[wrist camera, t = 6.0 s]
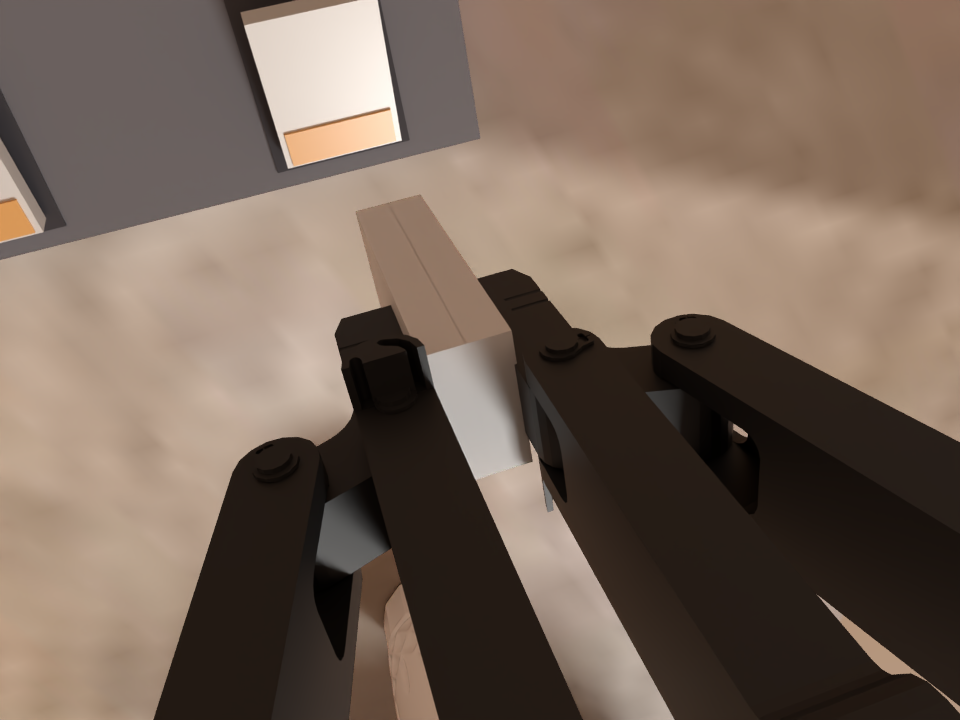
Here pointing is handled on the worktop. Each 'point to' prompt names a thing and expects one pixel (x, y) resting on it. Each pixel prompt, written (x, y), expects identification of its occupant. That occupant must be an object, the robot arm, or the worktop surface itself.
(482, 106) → the worktop surface
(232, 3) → the rocker switch panel
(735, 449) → the robot arm
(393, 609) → the white cup
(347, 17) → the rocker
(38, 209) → the rocker
